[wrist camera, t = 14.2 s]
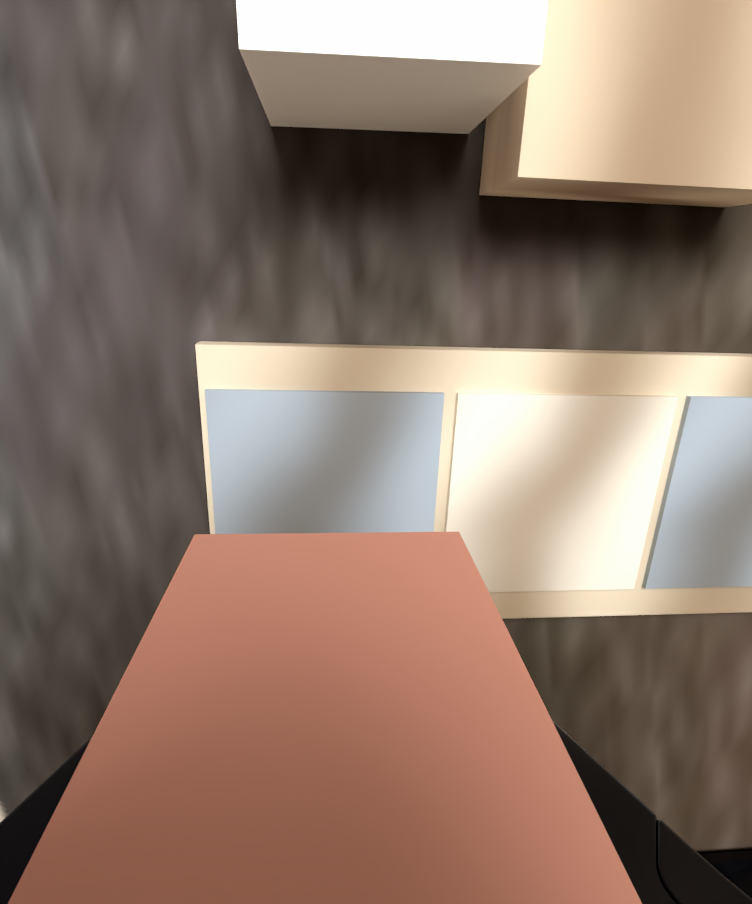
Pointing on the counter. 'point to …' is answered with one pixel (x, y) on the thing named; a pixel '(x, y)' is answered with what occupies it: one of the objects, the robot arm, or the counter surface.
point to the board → (499, 463)
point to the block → (631, 107)
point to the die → (388, 60)
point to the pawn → (326, 743)
